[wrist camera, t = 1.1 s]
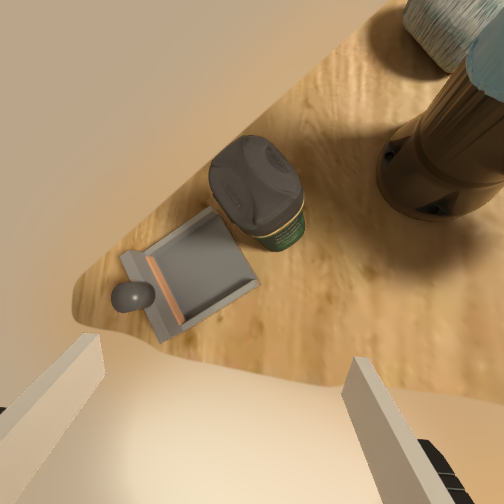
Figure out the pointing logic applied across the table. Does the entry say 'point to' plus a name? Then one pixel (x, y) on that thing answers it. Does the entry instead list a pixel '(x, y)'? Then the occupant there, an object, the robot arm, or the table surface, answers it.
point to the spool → (448, 26)
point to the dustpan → (185, 276)
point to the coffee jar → (259, 191)
